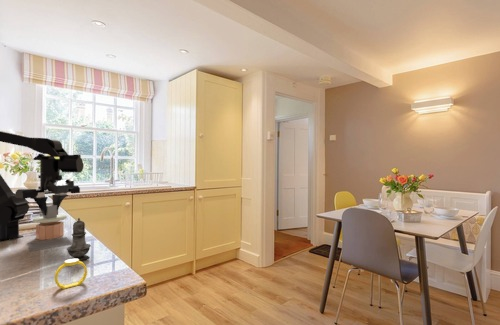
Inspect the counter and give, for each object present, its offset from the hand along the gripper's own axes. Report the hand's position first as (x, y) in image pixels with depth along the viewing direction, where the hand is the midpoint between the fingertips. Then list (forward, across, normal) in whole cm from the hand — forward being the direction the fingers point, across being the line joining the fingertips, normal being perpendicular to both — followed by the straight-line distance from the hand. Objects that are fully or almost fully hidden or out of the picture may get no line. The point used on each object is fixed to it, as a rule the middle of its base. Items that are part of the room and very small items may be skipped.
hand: (50, 214), depth 97 cm
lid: (+2, 0, 0) cm, 2 cm away
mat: (+8, -5, -10) cm, 14 cm away
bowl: (+8, 0, 0) cm, 8 cm away
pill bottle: (+9, +7, +15) cm, 19 cm away
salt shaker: (+9, -8, -32) cm, 34 cm away
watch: (+9, -19, -47) cm, 51 cm away
